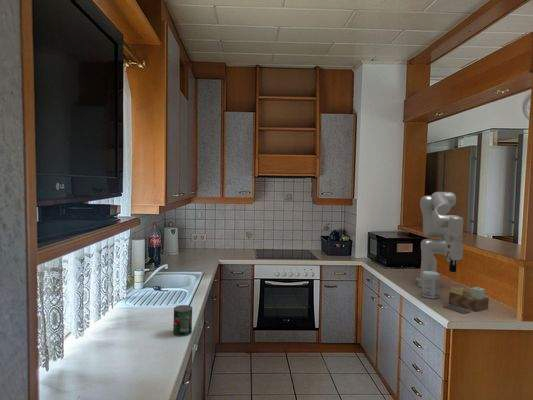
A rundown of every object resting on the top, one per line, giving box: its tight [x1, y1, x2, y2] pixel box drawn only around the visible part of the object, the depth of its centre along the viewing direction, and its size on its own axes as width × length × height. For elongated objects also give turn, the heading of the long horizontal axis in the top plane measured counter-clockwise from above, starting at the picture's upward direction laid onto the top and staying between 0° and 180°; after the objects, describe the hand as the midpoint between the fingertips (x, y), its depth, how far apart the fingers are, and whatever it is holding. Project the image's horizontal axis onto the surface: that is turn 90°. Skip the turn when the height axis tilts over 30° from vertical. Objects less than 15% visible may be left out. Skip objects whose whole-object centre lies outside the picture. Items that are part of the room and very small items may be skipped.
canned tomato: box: [172, 304, 193, 337], centre depth 171 cm, size 8×8×11 cm
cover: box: [470, 286, 486, 299], centre depth 219 cm, size 5×5×6 cm
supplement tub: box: [421, 271, 440, 300], centre depth 239 cm, size 10×10×15 cm
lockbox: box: [448, 290, 490, 312], centre depth 224 cm, size 16×12×6 cm
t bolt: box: [450, 286, 466, 296], centre depth 226 cm, size 7×6×3 cm
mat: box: [442, 304, 472, 315], centre depth 217 cm, size 12×7×1 cm, turn 33°
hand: (452, 271), depth 220 cm, fingers closed
